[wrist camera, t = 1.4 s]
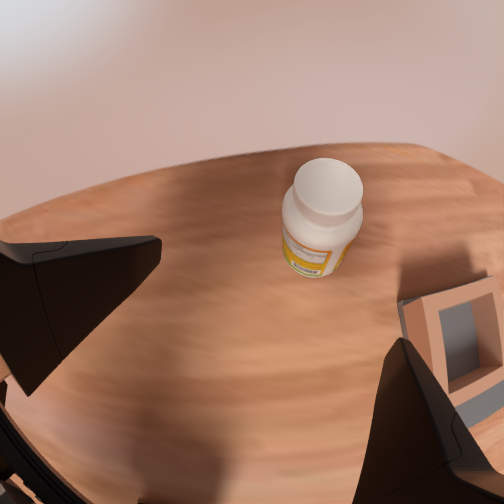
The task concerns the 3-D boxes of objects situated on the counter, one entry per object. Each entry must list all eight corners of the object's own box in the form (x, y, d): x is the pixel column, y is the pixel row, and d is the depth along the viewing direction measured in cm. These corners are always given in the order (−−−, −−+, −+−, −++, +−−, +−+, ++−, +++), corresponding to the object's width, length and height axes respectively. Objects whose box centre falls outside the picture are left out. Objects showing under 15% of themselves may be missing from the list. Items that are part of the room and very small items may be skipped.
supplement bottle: (328, 214, 24) (347, 140, 15) (353, 266, 22) (391, 210, 13) (273, 231, 24) (267, 160, 15) (295, 287, 22) (303, 240, 13)
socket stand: (501, 403, 15) (528, 405, 11) (411, 450, 16) (434, 465, 11) (486, 278, 20) (512, 263, 16) (396, 303, 21) (419, 290, 17)
